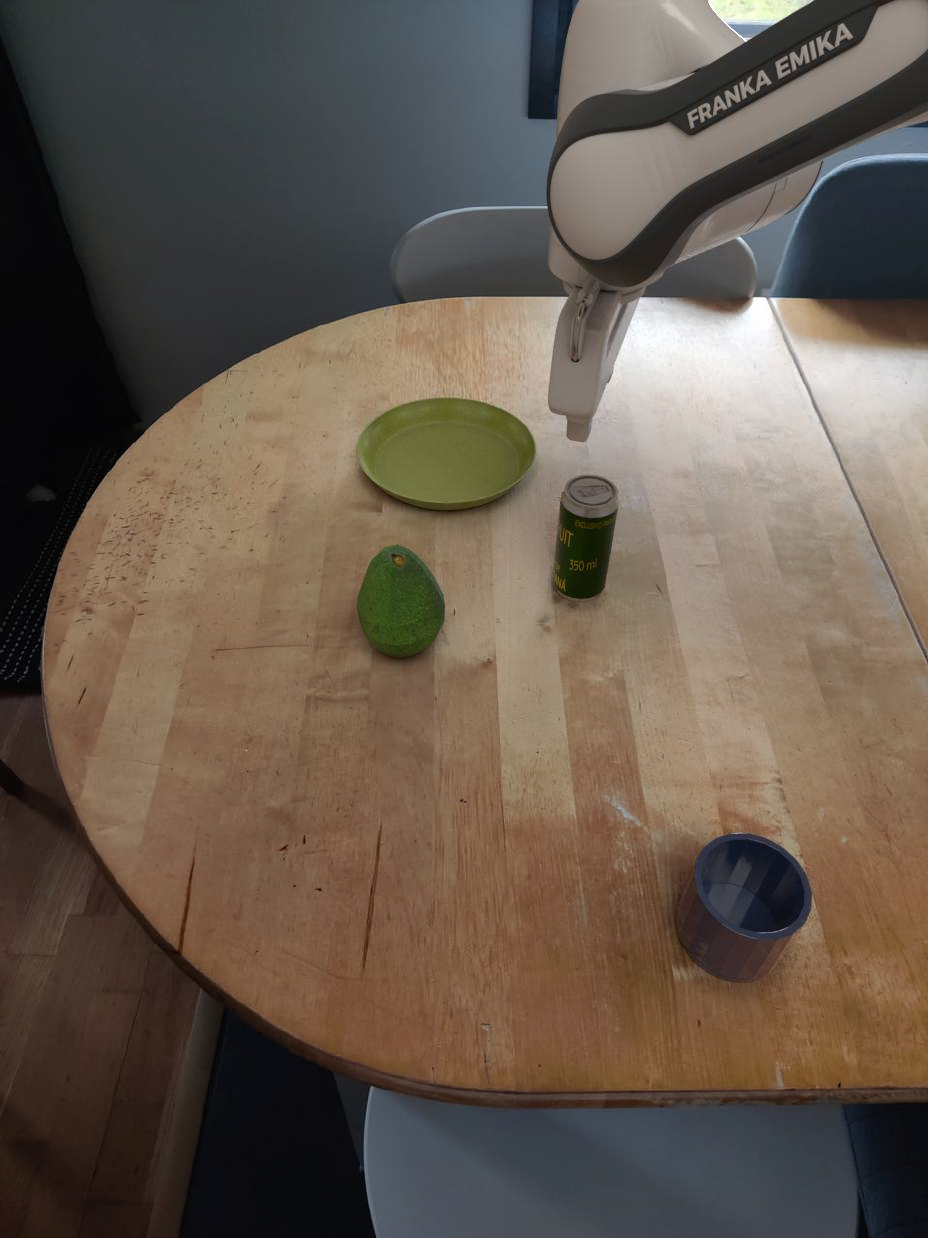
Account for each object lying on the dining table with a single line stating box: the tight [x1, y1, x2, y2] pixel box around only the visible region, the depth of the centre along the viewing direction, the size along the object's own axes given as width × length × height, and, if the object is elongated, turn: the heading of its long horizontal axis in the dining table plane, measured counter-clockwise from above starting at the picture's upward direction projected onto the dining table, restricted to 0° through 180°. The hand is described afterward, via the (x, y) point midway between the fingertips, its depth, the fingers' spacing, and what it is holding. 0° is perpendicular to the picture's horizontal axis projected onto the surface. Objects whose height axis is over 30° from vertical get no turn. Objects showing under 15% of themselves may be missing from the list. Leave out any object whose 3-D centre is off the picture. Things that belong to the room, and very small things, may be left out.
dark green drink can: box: [551, 474, 620, 603], centre depth 82 cm, size 5×5×12 cm
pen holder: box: [675, 832, 813, 983], centre depth 59 cm, size 8×8×7 cm
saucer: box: [355, 396, 537, 511], centre depth 100 cm, size 21×21×3 cm
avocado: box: [356, 544, 446, 659], centre depth 77 cm, size 8×8×12 cm
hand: (590, 406), depth 73 cm, fingers open, 8 cm apart
